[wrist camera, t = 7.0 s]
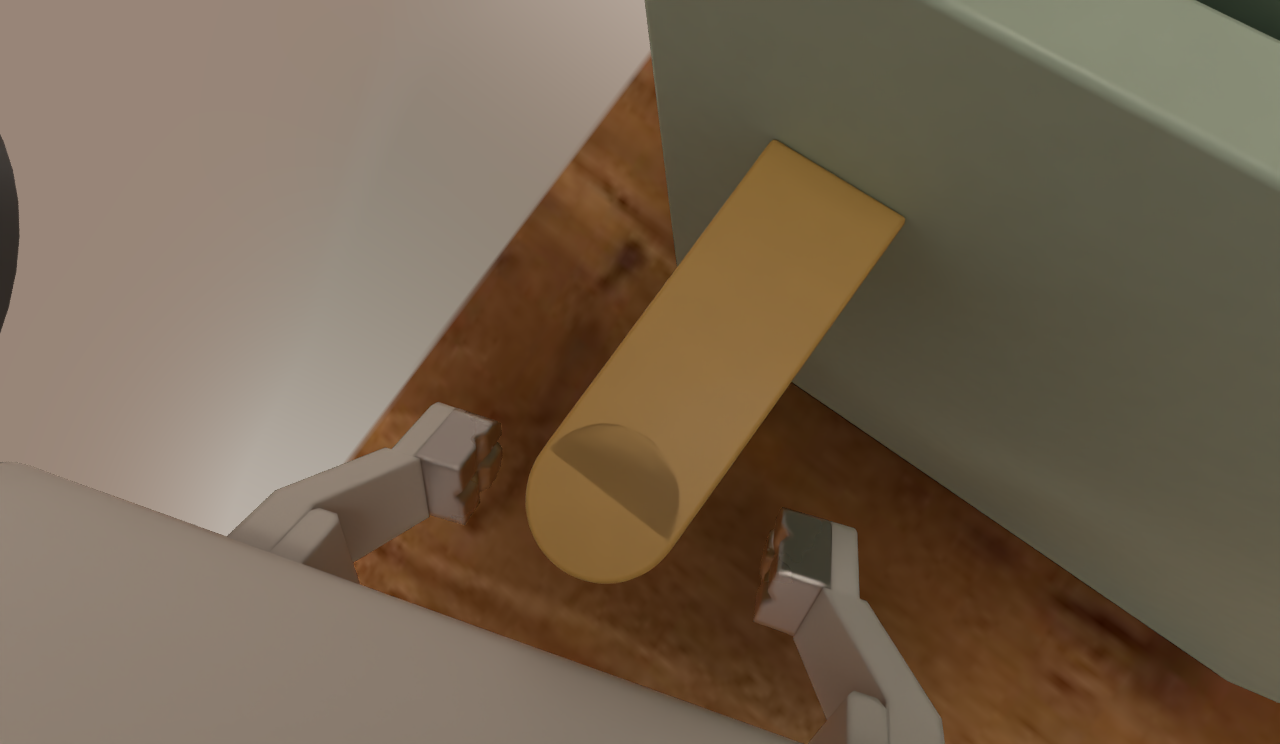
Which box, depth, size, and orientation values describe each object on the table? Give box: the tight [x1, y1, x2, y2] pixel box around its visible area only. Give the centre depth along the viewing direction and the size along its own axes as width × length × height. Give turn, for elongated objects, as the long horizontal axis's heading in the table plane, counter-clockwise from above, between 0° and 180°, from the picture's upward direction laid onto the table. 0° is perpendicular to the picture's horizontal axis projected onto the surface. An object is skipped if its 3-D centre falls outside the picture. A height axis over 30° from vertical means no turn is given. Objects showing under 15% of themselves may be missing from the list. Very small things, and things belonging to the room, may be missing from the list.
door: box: [525, 0, 1280, 703], centre depth 11 cm, size 7×20×16 cm, turn 53°
